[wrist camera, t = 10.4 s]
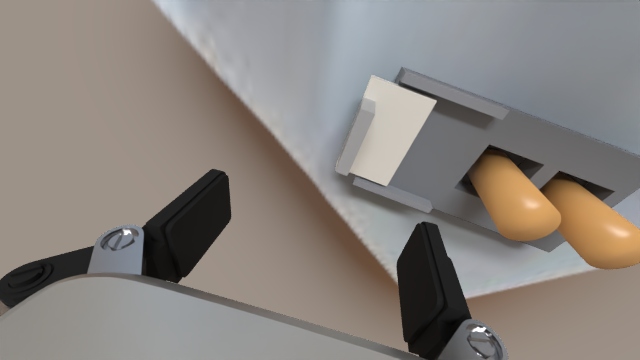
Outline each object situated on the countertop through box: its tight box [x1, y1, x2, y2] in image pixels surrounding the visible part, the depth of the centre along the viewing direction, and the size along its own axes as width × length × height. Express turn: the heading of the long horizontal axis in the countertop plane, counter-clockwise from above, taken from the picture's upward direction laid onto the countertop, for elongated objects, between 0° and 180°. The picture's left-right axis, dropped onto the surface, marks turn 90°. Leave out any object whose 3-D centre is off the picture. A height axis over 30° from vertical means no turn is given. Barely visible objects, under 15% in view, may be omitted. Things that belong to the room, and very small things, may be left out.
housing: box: [353, 67, 640, 252], centre depth 24 cm, size 24×12×4 cm, turn 73°
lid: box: [335, 75, 437, 186], centre depth 21 cm, size 6×10×5 cm, turn 163°
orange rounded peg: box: [539, 172, 640, 269], centre depth 22 cm, size 4×4×9 cm
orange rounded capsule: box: [466, 149, 561, 241], centre depth 22 cm, size 4×4×9 cm
